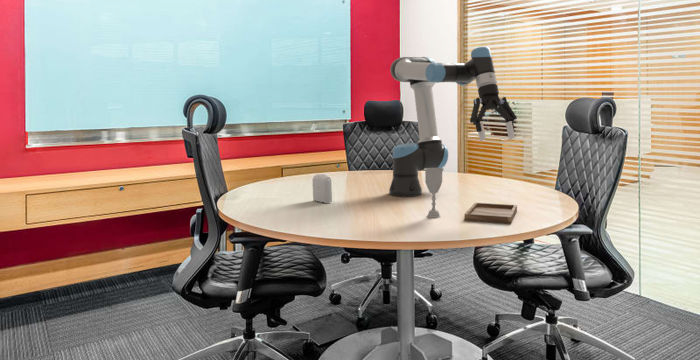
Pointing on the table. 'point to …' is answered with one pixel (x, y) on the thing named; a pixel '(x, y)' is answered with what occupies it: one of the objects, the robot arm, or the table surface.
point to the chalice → (433, 187)
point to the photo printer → (322, 188)
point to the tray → (491, 213)
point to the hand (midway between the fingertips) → (497, 139)
